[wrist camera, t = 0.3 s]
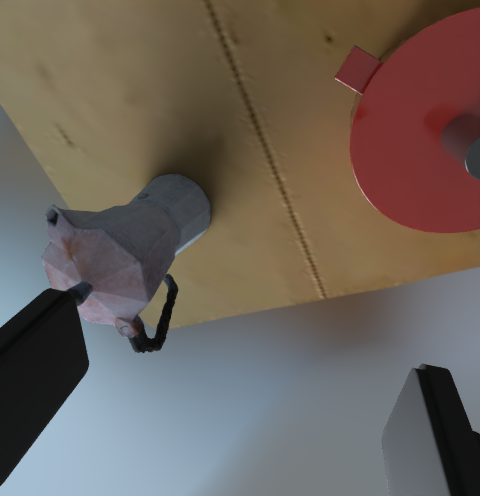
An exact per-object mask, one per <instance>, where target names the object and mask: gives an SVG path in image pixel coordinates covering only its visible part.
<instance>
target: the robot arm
mask: <svg viewBox="0 0 480 496" xmlns="http://www.w3.org/2000/svg"><path fill="white" fill-rule="evenodd" d="M88 367H89V360H88V355H87V350H86V345H85V341H84V336H83V332H82V327H81V322H80V318H79V312H78V308H77V303H76V300H75V299H74V298H73V297H72V295H71V293H70V292H67V291H62V290H57V289H52V288H49V289H46V290H45V291H43V292H42V293H41V294H40V295H39V296H37V297H36V298H35V299H34V300H33V301H31V302H30V303H29V304H28V305H27V306H26V307H24V308H23V309H22V310H21V311H20V312H19V313H17V314H16V315H15V316H14V317H12V318H11V319H10V320H9V321H8V322H7V323H5V324H4V325H3V326H2V327H1V328H0V486H1V485H2V484H3V483H4V482H5V480H6V479H7V477H8V476H9V475H10V474H11V472H12V471H13V470H14V468H15V467H16V466H17V464H18V463H19V462H20V460H21V459H22V458H23V456H24V455H25V454H26V452H27V451H28V449H29V448H30V447H31V446H32V444H33V443H34V442H35V440H36V439H37V438H38V436H39V435H40V434H41V432H42V431H43V430H44V428H45V427H46V426H47V424H48V423H49V422H50V420H51V419H52V418H53V417H54V415H55V414H56V412H57V411H58V410H59V408H60V407H61V406H62V405H63V403H64V402H65V401H66V399H67V398H68V396H69V395H70V394H71V393H72V391H73V390H74V389H75V387H76V386H77V385H78V383H79V382H80V381H81V379H82V378H83V377H84V375H85V374H86V372H87V370H88ZM382 449H383V456H384V464H385V471H386V479H387V486H388V493H389V496H480V434H479V433H477V432H475V431H472V428H471V425H470V423H469V420H468V417H467V415H466V412H465V410H464V407H463V404H462V402H461V399H460V397H459V394H458V391H457V389H456V386H455V384H454V381H453V378H452V375H451V373H450V371H449V370H448V369H445V368H441V367H436V366H431V365H426V364H421V365H420V366H419V368H418V369H416V368H412V369H411V371H410V373H409V375H408V377H407V379H406V382H405V384H404V386H403V388H402V391H401V393H400V395H399V397H398V399H397V402H396V404H395V406H394V408H393V411H392V413H391V415H390V417H389V420H388V422H387V424H386V426H385V428H384V431H383V435H382Z"/></svg>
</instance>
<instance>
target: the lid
mask: <svg viewBox="0 0 480 496" xmlns="http://www.w3.org/2000/svg"><path fill="white" fill-rule="evenodd" d="M350 157H351V164H352V168H353V172H354V175H355V178H356V180H357V183H358V185H359V187H360V189H361V190H362V192H363V194H364V195H365V197H366V198H367V199H368V200H369V202H370V203H371V204H372V205H373V206H374V207H375V208H376V209H377V210H378V211H379V212H381V213H382V214H383V215H385V216H386V217H388V218H389V219H391V220H393V221H395V222H397V223H399V224H401V225H403V226H406V227H409V228H412V229H416V230H420V231H425V232H433V233H458V232H467V231H472V230H477V229H480V7H477V8H473V9H470V10H466V11H462V12H458V13H456V14H453V15H451V16H448V17H446V18H443V19H441V20H439V21H437V22H435V23H433V24H431V25H430V26H428V27H426V28H424V29H422V30H421V31H419V32H418V33H417V34H415V35H414V36H412V37H411V38H409V39H408V40H407V41H406V42H404V43H403V44H402V45H401V46H400V47H399V48H397V49H396V50H395V51H394V52H393V53H392V54H391V55H390V56H389V57H388V58H387V60H386V61H385V62H384V63H383V64H382V65H381V66H380V68H379V69H378V70H377V72H376V73H375V74H374V76H373V77H372V78H371V80H370V82H369V83H368V85H367V87H366V89H365V90H364V92H363V94H362V96H361V98H360V101H359V103H358V105H357V108H356V111H355V114H354V118H353V121H352V127H351V133H350Z"/></svg>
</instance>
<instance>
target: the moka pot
mask: <svg viewBox="0 0 480 496" xmlns="http://www.w3.org/2000/svg"><path fill="white" fill-rule="evenodd" d="M210 216H211V205H210V202H209V200H208V198H207V196H206V195H205V193H204V192H203V190H202V188H201V187H200V186H199V185H198V184H196V183H195V182H194V181H192V180H190V179H189V178H187V177H185V176H183V175H180V174H167V175H163V176H158V177H156V178H154V179H153V180H152V181H151V182H150V183H149V184H148V185H147V186H146V187H145V188H144V189H143V190H142V191H141V192H140V193H139V194H138V195H137V196H136V197H135V198H133V200H132V201H131V202H130V203H129V204H127V205H125V206H114V207H112V208H109V209H106V210H103V211H101V212H90V211H74V210H63V209H60V208H58V207H57V206H55V205H52V206H51V207H49V208H48V210H47V212H46V214H45V219H46V226H47V229H48V234H49V237H50V240H51V242H50V243H49V245H48V247H47V248H46V249H45V251H44V253H43V255H42V258H41V259H42V262H43V265H44V268H45V271H46V273H47V276H48V279H49V282H50V285H51V288H52V289H57V290H62V291H67V292H70V293H71V295H72V297H73V298H74V299H75V300H76V303H77V308H78V312H79V315H80V316H82V317H83V318H84V319H86V320H87V321H89V322H94V323H103V324H114V325H115V326H116V328H117V330H118V331H119V333H120V334H121V335H122V336H123V337H124V338H128V339H129V341H130V343H131V345H132V347H133V350H134V351H135V352H138V353H139V352H142V353H144V352H145V351H148V352H153V351H154V350H155V351H158V350H160V349H161V348H162V345H163V343H164V342H165V339H166V334H167V331H168V328H169V321H170V319H171V314H172V308H173V306H174V304H175V299H176V296H177V293H178V286H177V284H176V283H175V281H174V279H173V277H172V276H171V275H170V274H166V273H167V271H168V269H169V268H170V266H171V264H172V262H173V260H174V259H175V256H176V255H178V254H179V253H180V252H181V251H182V250H184V249H185V248H186V247H188V246H189V245H191V244H192V243H193V242H194V241H196V240H197V239H198V238H199V237H200V236H201V235H202V234H203V233H204V232H205V231H206V230H207V229H208V227H209V224H210ZM165 274H166V275H165ZM162 280H164V282H165V284H166V285H167V287H168V293H167V302H166V303H165V304H164V307H163V310H162V315H161V317H160V319H159V323H158V325H157V331H156V335H155V337H154V338H152V339H150V338H148V337H147V335H146V333H145V329H144V324H143V322H142V320H141V319H140V317H138V314H139V313H140V312H141V311H142V310H143V309H144V308H145V307H146V306H147V305H148V303H149V302H150V301H151V299H152V298H153V296H154V294H155V293H156V291H157V289H158V287H159V286H160V284H161V282H162Z"/></svg>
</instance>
